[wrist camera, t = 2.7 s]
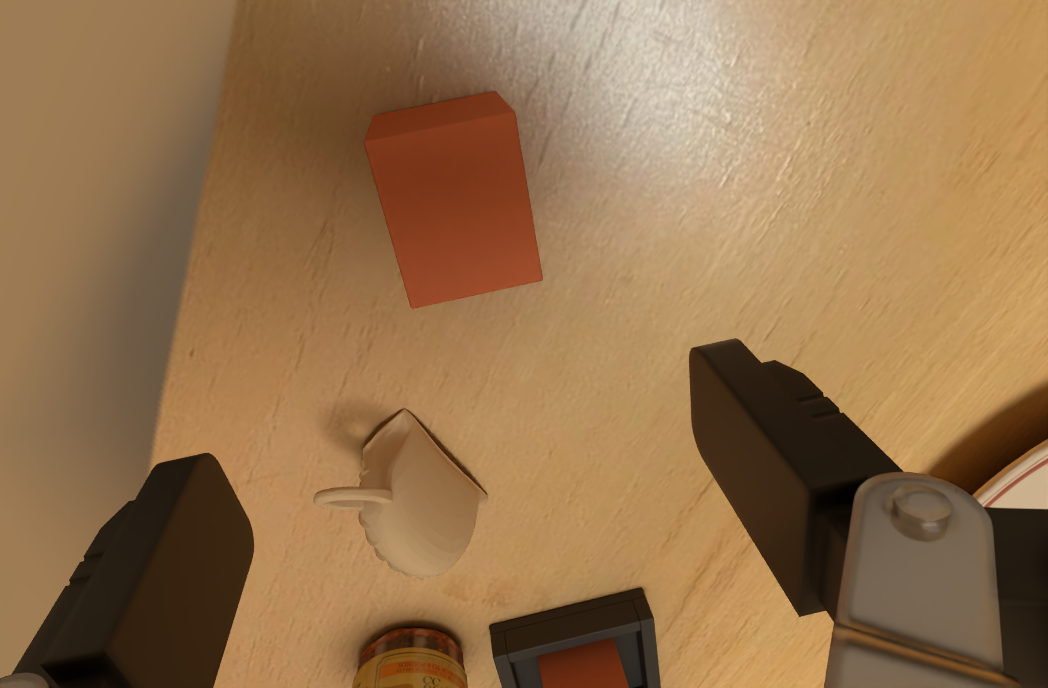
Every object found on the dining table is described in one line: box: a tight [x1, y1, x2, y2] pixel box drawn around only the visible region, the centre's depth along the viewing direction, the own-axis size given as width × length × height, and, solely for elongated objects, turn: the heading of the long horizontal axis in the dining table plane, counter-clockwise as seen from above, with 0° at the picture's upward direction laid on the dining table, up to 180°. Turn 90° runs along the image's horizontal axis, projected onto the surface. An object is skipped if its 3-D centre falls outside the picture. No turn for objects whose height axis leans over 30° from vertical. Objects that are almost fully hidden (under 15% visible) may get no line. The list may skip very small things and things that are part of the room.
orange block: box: [364, 91, 543, 309], centre depth 22 cm, size 4×6×5 cm
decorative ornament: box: [313, 409, 488, 579], centre depth 28 cm, size 4×8×5 cm, turn 31°
